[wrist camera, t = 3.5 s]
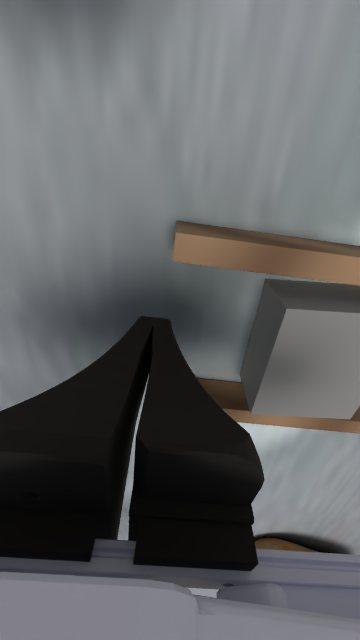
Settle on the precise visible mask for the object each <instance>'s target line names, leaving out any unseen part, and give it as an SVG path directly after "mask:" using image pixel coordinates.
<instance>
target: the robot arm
mask: <svg viewBox="0 0 360 640" xmlns="http://www.w3.org/2000/svg"><path fill="white" fill-rule="evenodd" d="M148 375H149V379H148V384H147V389H146V394H145V398H144V403H143V408H142V412H141V417H140V421H139V426H138V430H137V434H136V445H135V463H134V482H133V490H132V496H131V502H130V509H129V538H128V540H117V537H118V530H119V524H120V518H121V511H122V505H123V498H124V492H125V486H126V479H127V473H128V467H129V461H130V455H131V449H132V443H133V437H134V431H135V425H136V420H137V416H138V412H139V408H140V405H141V401H142V397H143V393H144V390H145V386H146V382H147V378H148ZM263 482H264V474H263V470H262V465H261V462H260V459H259V456H258V453H257V451H256V448H255V446H254V443H253V441H252V438H251V436H250V434H249V433H248V432H247V431H246V430H245V429H243V428H242V427H241V426H240V425H239V424H238V423H237V422H236V421H234V420H233V419H232V418H231V417H230V416H229V415H228V414H227V413H226V412H225V411H224V410H223V409H222V408H221V407H220V406H219V405H218V404H217V403H216V402H215V401H214V399H213V398H212V397H211V396H210V395H209V394H208V392H207V391H206V390H205V389H204V388H203V386H202V385H201V384H200V382H199V381H198V379H197V378H196V377H195V375H194V374H193V372H192V371H191V369H190V367H189V366H188V364H187V362H186V360H185V359H184V357H183V355H182V353H181V351H180V349H179V346H178V344H177V342H176V339H175V337H174V334H173V331H172V327H171V321H170V320H169V319H163V318H154V317H145V316H141V317H140V318H138V320H137V321H136V322H135V324H134V325H133V326H132V327H131V328H130V330H129V331H128V332H127V333H126V334H125V335H124V336H123V337H122V338H121V339H120V340H119V341H118V342H117V343H116V344H115V345H114V346H113V347H112V348H111V349H109V350H108V351H107V352H106V353H105V354H104V355H103V356H101V357H100V358H99V359H98V360H96V361H95V362H94V363H92V364H91V365H89V366H88V367H87V368H85V369H84V370H82V371H81V372H79V373H78V374H76V375H74V376H73V377H71V378H70V379H68V380H66V381H64V382H63V383H61V384H59V385H57V386H55V387H53V388H51V389H49V390H47V391H45V392H43V393H41V394H39V395H37V396H35V397H33V398H30V399H28V400H26V401H24V402H21V403H19V404H17V405H14V406H12V407H10V408H7V409H5V410H2V411H0V640H360V555H350V554H334V553H318V552H302V551H286V550H271V549H256V547H255V542H254V536H253V531H252V526H251V525H253V523H254V516H253V511H252V506H251V503H252V501H253V500H254V498H255V497H256V495H257V494H258V492H259V490H260V489H261V487H262V485H263ZM184 587H186V588H184ZM187 588H204V589H219V591H218V592H217V598H212V597H206V596H200V595H193V594H192V593H191V591H190V590H189V589H187Z"/></svg>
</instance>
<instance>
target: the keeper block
mask: <svg viewBox="0 0 360 640" xmlns="http://www.w3.org/2000/svg"><path fill="white" fill-rule="evenodd" d="M240 376H241V380H242V384H243V388H244V391H245V395H246V399H247V403H248V406H249V410H250V414H258V415H276V416H294V417H313V418H331V419H349V420H350V419H351V417H352V416H353V415H354V413H355V412H356V410H357V409H358V407H359V406H360V286H359V285H349V284H334V283H320V282H305V281H290V280H275V279H265V283H264V287H263V290H262V294H261V298H260V302H259V305H258V309H257V313H256V316H255V320H254V324H253V327H252V331H251V335H250V339H249V342H248V346H247V350H246V353H245V357H244V361H243V364H242V368H241V372H240Z"/></svg>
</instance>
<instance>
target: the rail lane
mask: <svg viewBox="0 0 360 640" xmlns="http://www.w3.org/2000/svg"><path fill="white" fill-rule="evenodd" d="M172 261H173V262H181V263H188V264H196V265H204V266H212V267H219V268H227V269H235V270H243V271H250V272H258V273H266V274H274V275H281V276H289V277H297V278H305V279H312V280H320V281H328V282H336V283H343V284H351V285H359V286H360V246H354V245H347V244H339V243H332V242H325V241H318V240H311V239H303V238H296V237H289V236H282V235H275V234H267V233H260V232H253V231H246V230H238V229H231V228H224V227H217V226H210V225H202V224H195V223H188V222H181V221H177V225H176V233H175V241H174V250H173V259H172ZM197 379H198V378H197ZM198 381H199V382H200V384H201V385H202V386H203V388H204V389H205V390H206V391H207V392H208V394H209V395H210V396H211V397H212V398H213V399H214V401H215V402H216V403H217V404H218V405H219V406H220V407H221V408H222V409H223V410H224V411H225V412H226V413H227V414H228V415H229V416H230V417H231V418H232V419H233V420H234V421H236V422H241V423H252V424H263V425H273V426H284V427H295V428H306V429H317V430H327V431H338V432H349V433H360V406H359V407H358V409H357V410H356V412H355V413H354V415H353V416H352V417H351V419H350V420H349V419H331V418H313V417H294V416H276V415H258V414H250V410H249V406H248V403H247V399H246V395H245V391H244V388H243V384H242V383H237V382H227V381H218V380H208V379H198Z"/></svg>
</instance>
